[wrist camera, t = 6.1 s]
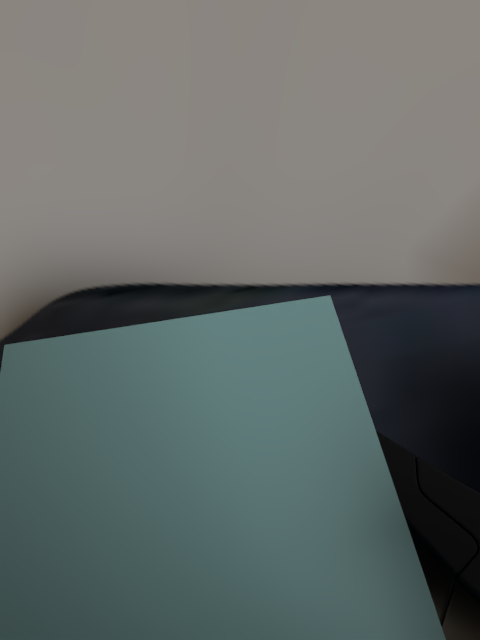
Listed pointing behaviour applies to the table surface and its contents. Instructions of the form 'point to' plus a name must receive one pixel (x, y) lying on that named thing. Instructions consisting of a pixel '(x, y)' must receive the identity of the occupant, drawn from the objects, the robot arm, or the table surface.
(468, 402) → the table surface
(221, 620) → the teal block
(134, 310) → the table surface
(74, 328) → the table surface
